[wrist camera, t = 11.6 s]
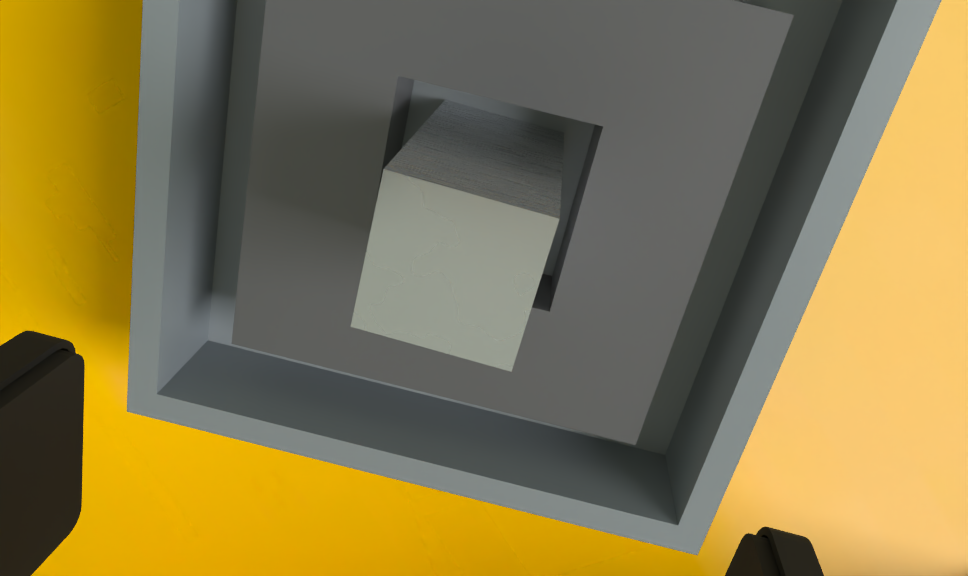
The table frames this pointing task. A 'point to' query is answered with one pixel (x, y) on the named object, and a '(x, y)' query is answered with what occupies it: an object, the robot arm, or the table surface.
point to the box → (573, 254)
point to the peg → (462, 234)
